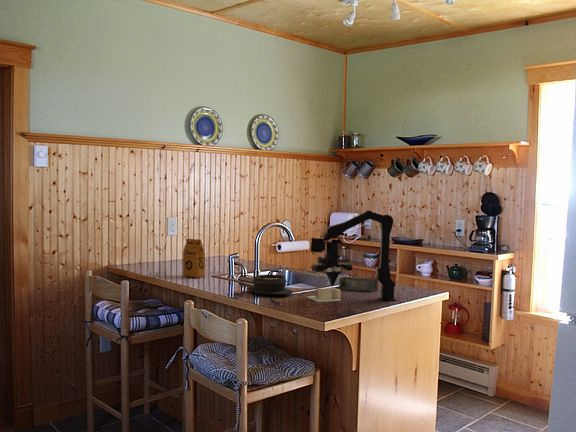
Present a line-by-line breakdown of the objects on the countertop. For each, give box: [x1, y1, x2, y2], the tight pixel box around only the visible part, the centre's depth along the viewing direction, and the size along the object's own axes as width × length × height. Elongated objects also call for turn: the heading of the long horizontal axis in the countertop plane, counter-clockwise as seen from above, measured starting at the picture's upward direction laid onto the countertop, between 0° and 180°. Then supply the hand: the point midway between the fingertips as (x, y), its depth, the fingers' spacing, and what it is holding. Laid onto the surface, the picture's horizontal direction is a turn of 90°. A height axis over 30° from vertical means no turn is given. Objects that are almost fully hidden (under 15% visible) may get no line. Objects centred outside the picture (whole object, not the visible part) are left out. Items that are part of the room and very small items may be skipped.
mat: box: [306, 295, 342, 303], centre depth 259 cm, size 12×12×1 cm
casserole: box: [245, 274, 294, 297], centre depth 270 cm, size 25×19×8 cm
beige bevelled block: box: [315, 287, 342, 300], centre depth 259 cm, size 6×4×10 cm
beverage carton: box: [338, 276, 379, 293], centre depth 285 cm, size 8×19×7 cm, turn 71°
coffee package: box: [182, 238, 206, 278], centre depth 317 cm, size 10×12×22 cm
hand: (332, 285), depth 260 cm, fingers closed
